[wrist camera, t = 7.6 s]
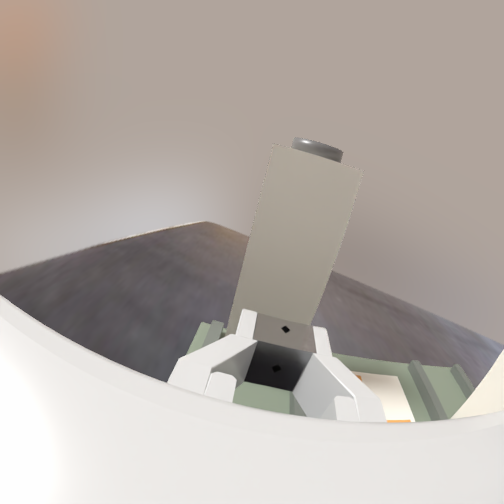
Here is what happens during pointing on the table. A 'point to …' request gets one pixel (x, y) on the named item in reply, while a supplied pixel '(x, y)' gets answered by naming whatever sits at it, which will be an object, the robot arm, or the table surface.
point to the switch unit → (374, 377)
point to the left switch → (296, 232)
